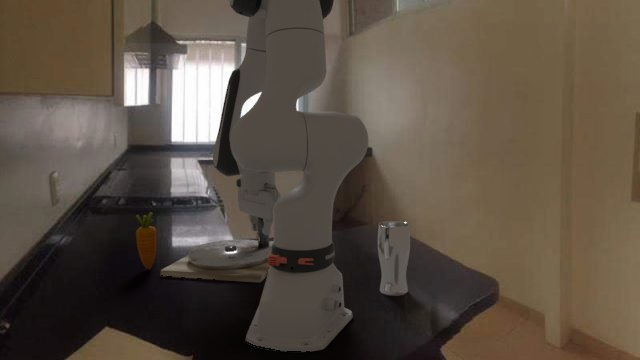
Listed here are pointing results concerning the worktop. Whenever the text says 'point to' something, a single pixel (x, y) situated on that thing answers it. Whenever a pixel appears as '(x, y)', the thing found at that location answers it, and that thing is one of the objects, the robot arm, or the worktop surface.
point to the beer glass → (393, 256)
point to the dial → (232, 252)
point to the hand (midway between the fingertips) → (260, 232)
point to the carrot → (146, 241)
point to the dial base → (217, 272)
